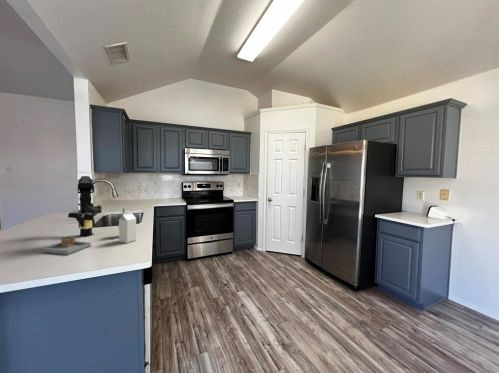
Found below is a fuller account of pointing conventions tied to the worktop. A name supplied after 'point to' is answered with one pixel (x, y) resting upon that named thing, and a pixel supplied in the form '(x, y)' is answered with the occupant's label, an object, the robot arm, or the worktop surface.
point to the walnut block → (68, 241)
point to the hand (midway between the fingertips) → (86, 226)
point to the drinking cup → (120, 216)
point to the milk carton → (127, 228)
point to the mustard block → (87, 224)
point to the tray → (66, 248)
